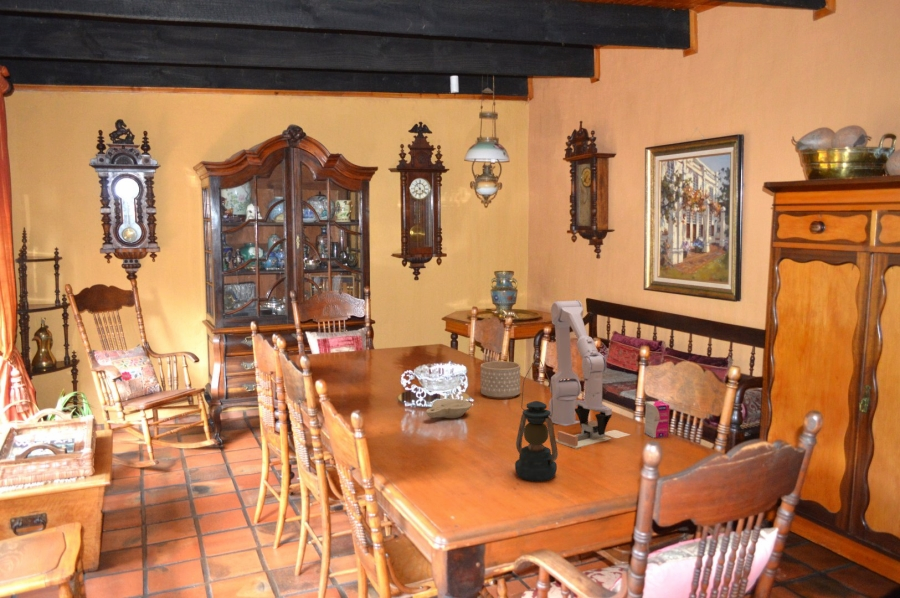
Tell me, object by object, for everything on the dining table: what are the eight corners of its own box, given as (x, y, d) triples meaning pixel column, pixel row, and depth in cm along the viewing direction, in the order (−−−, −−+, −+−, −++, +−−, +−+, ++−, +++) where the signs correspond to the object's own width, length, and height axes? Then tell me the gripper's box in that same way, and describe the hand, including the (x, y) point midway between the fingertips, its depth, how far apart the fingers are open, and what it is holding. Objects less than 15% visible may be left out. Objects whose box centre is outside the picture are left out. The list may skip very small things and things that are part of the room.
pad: (600, 434, 249) (600, 433, 249) (614, 430, 253) (614, 429, 253) (616, 439, 243) (616, 438, 243) (630, 435, 247) (630, 434, 247)
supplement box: (653, 439, 243) (654, 405, 241) (644, 434, 248) (644, 401, 247) (668, 438, 244) (669, 404, 243) (659, 433, 250) (660, 400, 249)
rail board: (554, 441, 241) (554, 430, 241) (588, 433, 250) (589, 422, 250) (576, 449, 233) (576, 438, 232) (611, 440, 242) (611, 429, 242)
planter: (476, 398, 299) (476, 367, 298) (486, 389, 315) (486, 360, 314) (515, 401, 295) (515, 370, 293) (523, 391, 310) (523, 362, 309)
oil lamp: (444, 427, 258) (444, 413, 258) (413, 420, 267) (413, 407, 266) (478, 414, 275) (478, 401, 274) (448, 408, 283) (448, 396, 283)
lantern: (503, 474, 210) (504, 354, 207) (529, 464, 219) (530, 348, 215) (542, 487, 200) (543, 360, 196) (568, 476, 209) (570, 355, 205)
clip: (581, 436, 244) (581, 423, 244) (593, 433, 248) (594, 420, 247) (592, 440, 240) (592, 426, 240) (605, 436, 244) (605, 423, 243)
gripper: (569, 389, 246) (568, 428, 247) (601, 397, 234) (600, 439, 236) (583, 386, 250) (583, 425, 252) (616, 394, 238) (615, 435, 240)
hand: (592, 431), depth 244 cm, fingers open, 7 cm apart
